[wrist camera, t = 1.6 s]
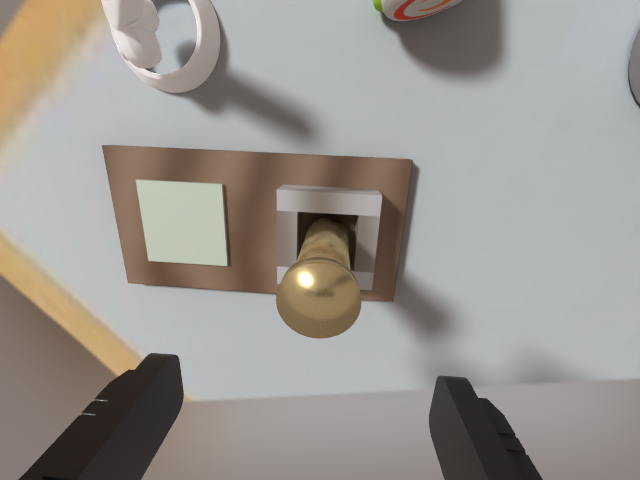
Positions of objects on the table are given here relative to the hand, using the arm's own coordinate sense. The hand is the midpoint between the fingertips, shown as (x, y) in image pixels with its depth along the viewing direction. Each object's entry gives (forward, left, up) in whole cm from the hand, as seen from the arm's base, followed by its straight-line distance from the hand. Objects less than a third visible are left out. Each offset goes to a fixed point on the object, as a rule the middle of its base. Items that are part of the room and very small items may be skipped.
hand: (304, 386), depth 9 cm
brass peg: (0, 0, -16) cm, 16 cm away
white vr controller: (+12, -14, -17) cm, 25 cm away
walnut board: (+6, 0, -17) cm, 18 cm away
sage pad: (+12, 0, -16) cm, 20 cm away
